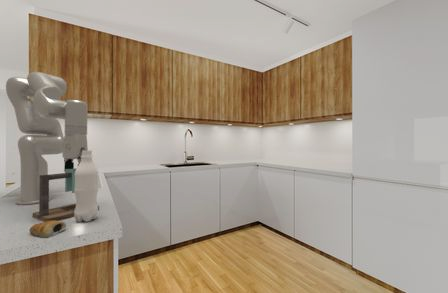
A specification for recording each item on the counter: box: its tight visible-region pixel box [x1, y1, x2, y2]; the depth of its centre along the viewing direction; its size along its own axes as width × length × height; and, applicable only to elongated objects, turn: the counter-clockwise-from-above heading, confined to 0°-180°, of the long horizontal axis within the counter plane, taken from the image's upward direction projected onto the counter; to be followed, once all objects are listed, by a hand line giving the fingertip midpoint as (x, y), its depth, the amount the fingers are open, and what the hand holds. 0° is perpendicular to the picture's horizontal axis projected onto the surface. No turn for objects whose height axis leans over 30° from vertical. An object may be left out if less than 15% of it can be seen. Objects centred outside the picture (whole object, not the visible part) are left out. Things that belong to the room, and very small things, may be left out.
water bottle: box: [73, 150, 99, 223], centre depth 75 cm, size 7×7×25 cm
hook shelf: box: [31, 172, 100, 222], centre depth 82 cm, size 13×17×16 cm
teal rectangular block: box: [64, 167, 77, 194], centre depth 84 cm, size 6×5×9 cm
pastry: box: [29, 220, 67, 238], centre depth 64 cm, size 9×7×4 cm
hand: (75, 172), depth 84 cm, fingers open, 9 cm apart
